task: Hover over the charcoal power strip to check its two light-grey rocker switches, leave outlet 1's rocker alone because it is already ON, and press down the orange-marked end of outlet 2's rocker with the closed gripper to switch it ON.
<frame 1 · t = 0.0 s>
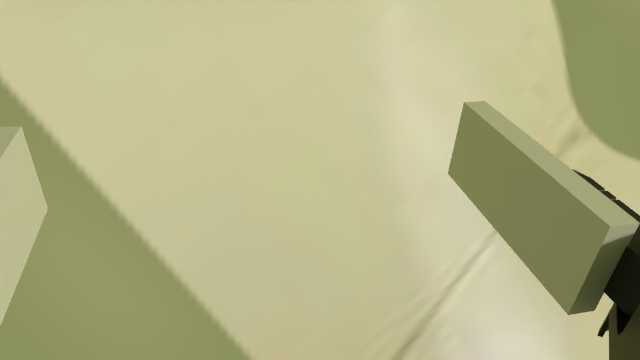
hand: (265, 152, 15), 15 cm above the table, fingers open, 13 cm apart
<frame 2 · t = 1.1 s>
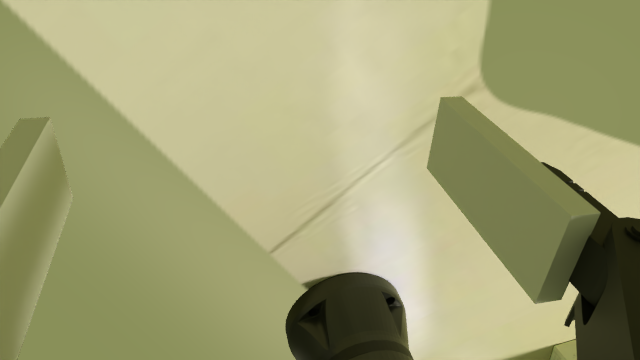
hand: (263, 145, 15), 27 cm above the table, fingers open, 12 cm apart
ink cartridge box: (561, 356, 79), on the table
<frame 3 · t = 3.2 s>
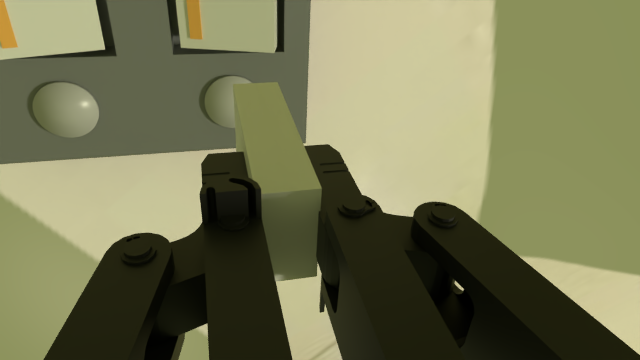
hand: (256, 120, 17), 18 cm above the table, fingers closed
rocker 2: (41, 18, 26), point 4 cm above the table, hinge at 15.0°
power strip: (151, 46, 32), on the table
rocker 1: (228, 16, 28), point 4 cm above the table, hinge at -15.0°
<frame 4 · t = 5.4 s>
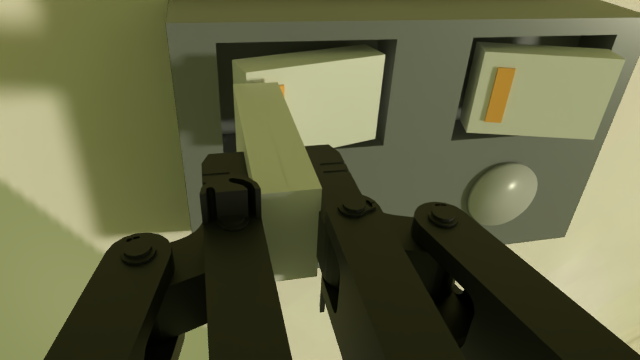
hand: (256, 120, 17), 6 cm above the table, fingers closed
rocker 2: (310, 103, 18), point 4 cm above the table, hinge at 15.0°, touching gripper
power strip: (385, 118, 25), on the table
rocker 1: (536, 92, 20), point 4 cm above the table, hinge at -15.0°
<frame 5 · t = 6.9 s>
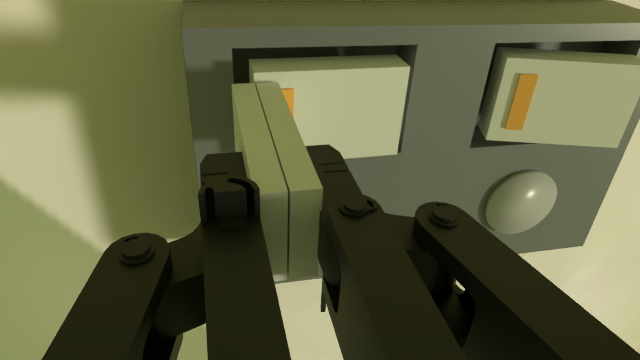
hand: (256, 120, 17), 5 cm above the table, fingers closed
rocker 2: (327, 110, 18), point 4 cm above the table, hinge at 1.4°, touching gripper
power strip: (400, 124, 24), on the table
rocker 1: (558, 98, 20), point 4 cm above the table, hinge at -15.0°
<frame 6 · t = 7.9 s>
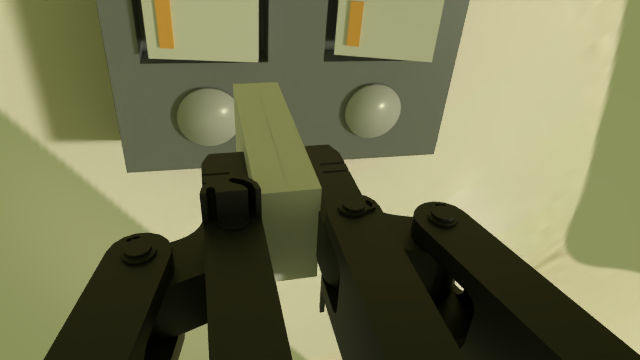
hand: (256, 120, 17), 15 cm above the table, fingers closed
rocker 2: (203, 22, 24), point 4 cm above the table, hinge at -8.0°
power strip: (284, 50, 31), on the table
rocker 1: (386, 23, 27), point 4 cm above the table, hinge at -15.0°
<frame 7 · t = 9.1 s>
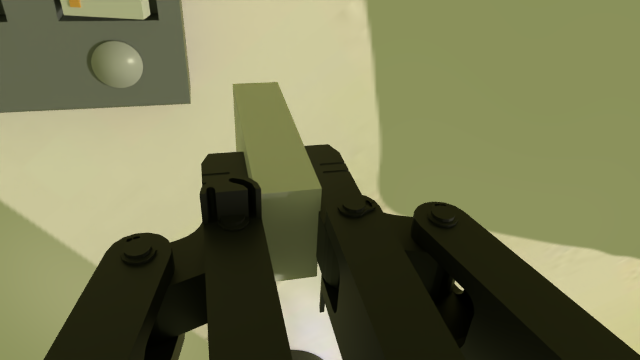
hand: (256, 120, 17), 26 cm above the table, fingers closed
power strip: (49, 17, 37), on the table
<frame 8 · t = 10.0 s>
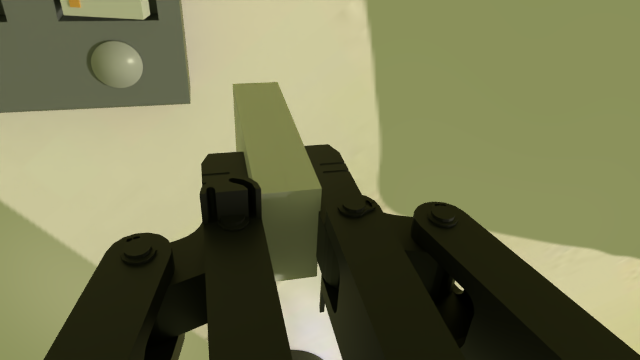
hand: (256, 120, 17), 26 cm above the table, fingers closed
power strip: (49, 17, 37), on the table
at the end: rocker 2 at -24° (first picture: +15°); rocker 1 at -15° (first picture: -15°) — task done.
